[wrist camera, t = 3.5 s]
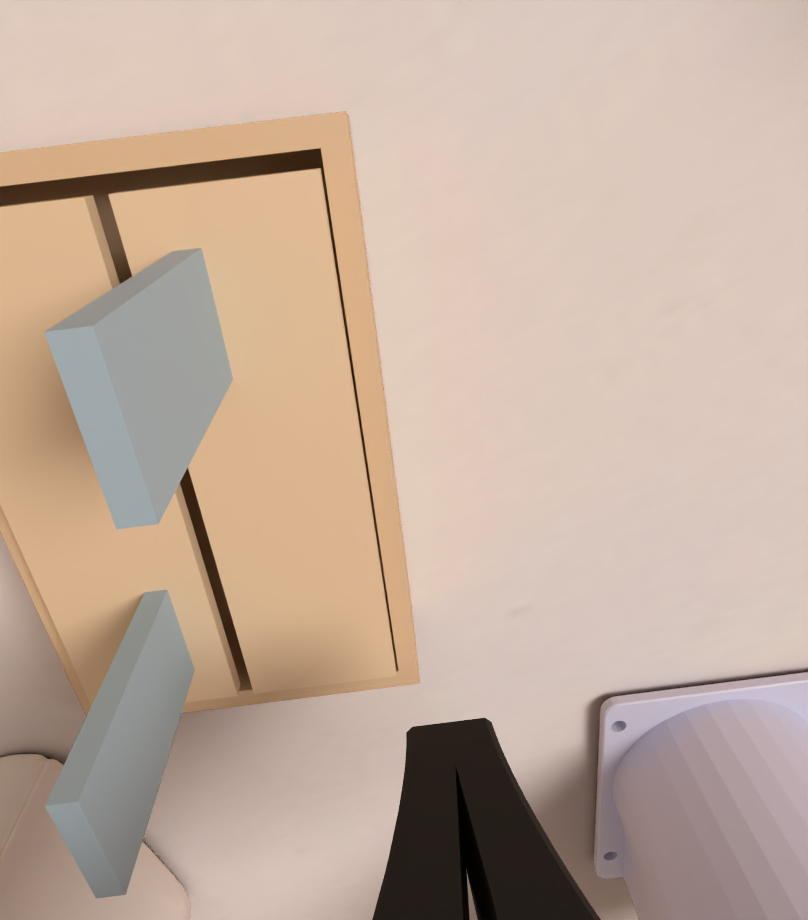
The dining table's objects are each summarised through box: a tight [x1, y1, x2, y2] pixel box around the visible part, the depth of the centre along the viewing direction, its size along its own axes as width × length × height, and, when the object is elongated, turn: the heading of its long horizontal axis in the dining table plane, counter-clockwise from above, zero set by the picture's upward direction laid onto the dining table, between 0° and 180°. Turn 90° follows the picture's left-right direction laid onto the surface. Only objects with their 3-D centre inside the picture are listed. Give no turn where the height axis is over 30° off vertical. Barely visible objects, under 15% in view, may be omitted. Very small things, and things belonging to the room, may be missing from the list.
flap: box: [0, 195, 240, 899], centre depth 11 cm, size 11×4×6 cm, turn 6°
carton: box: [0, 111, 420, 717], centre depth 15 cm, size 13×8×3 cm, turn 6°
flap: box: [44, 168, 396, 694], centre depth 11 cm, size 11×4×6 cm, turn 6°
